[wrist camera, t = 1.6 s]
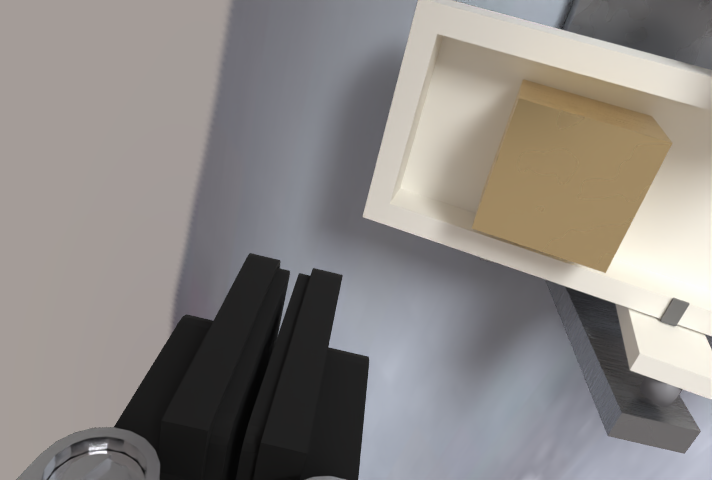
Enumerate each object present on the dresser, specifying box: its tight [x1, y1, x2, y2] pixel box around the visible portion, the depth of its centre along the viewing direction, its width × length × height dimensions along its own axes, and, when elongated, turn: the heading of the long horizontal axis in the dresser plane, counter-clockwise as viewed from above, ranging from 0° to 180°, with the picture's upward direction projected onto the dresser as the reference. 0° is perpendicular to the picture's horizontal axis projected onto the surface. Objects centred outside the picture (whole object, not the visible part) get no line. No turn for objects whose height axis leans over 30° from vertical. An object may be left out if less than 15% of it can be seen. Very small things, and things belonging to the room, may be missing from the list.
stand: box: [480, 0, 712, 454], centre depth 23 cm, size 16×10×13 cm, turn 167°
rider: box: [472, 79, 672, 273], centre depth 21 cm, size 5×5×4 cm
